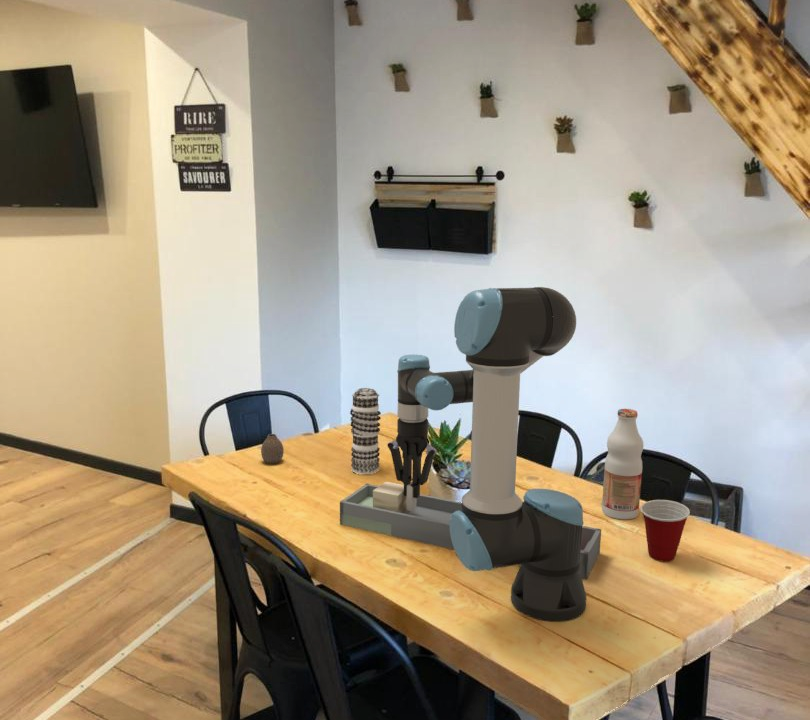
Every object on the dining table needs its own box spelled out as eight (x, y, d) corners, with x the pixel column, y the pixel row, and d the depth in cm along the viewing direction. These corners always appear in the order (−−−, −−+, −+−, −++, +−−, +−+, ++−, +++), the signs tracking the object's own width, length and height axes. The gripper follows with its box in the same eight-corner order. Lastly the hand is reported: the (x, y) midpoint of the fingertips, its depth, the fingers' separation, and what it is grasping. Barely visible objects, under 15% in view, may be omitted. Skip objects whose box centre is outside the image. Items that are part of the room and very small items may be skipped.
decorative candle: (346, 473, 224) (345, 392, 219) (355, 463, 233) (355, 385, 227) (375, 476, 222) (375, 395, 217) (383, 466, 231) (384, 387, 225)
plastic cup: (626, 549, 177) (630, 502, 175) (663, 543, 181) (668, 496, 178) (656, 570, 167) (661, 520, 165) (695, 563, 171) (700, 513, 169)
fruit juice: (594, 509, 200) (601, 408, 194) (621, 503, 204) (628, 404, 198) (618, 522, 192) (626, 417, 186) (646, 516, 196) (654, 413, 190)
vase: (260, 459, 235) (259, 432, 234) (282, 457, 238) (281, 430, 236) (262, 466, 229) (262, 439, 227) (285, 464, 231) (284, 437, 229)
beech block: (397, 518, 186) (397, 495, 184) (372, 513, 189) (372, 490, 187) (409, 508, 192) (410, 486, 191) (385, 503, 195) (385, 481, 194)
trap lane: (586, 579, 163) (588, 554, 162) (339, 524, 189) (339, 501, 188) (599, 553, 175) (601, 529, 174) (366, 504, 201) (366, 483, 200)
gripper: (443, 417, 183) (441, 508, 188) (396, 410, 189) (395, 498, 194) (430, 426, 176) (428, 519, 181) (382, 418, 182) (381, 509, 187)
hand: (411, 508), depth 188 cm, fingers closed
